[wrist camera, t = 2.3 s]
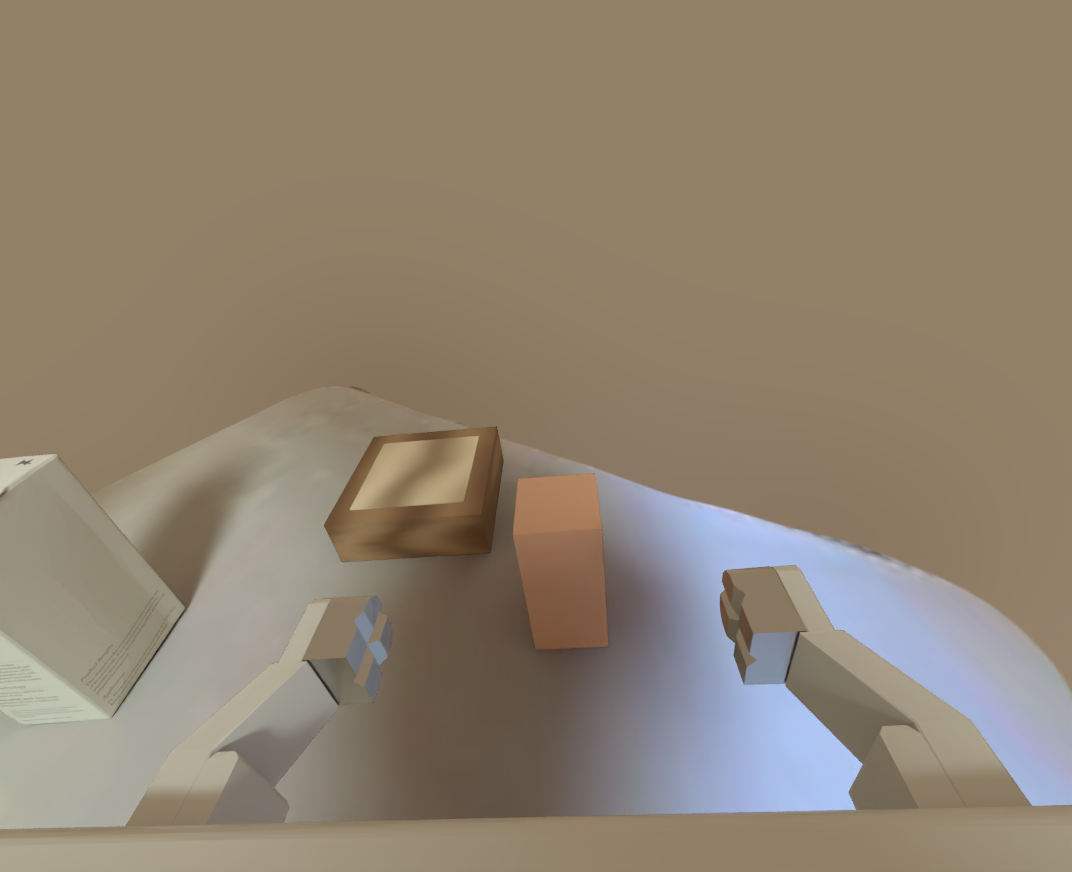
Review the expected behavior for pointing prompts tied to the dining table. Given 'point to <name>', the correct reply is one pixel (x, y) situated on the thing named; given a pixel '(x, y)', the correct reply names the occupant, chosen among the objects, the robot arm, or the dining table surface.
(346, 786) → the dining table surface
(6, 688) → the skincare box
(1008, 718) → the dining table surface
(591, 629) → the terracotta block
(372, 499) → the plinth
